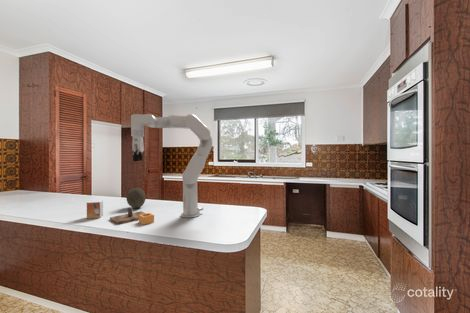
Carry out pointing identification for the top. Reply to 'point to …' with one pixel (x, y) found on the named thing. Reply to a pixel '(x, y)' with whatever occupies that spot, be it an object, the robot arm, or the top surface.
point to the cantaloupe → (136, 197)
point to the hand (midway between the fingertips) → (137, 160)
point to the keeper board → (126, 217)
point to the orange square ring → (146, 218)
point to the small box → (94, 209)
